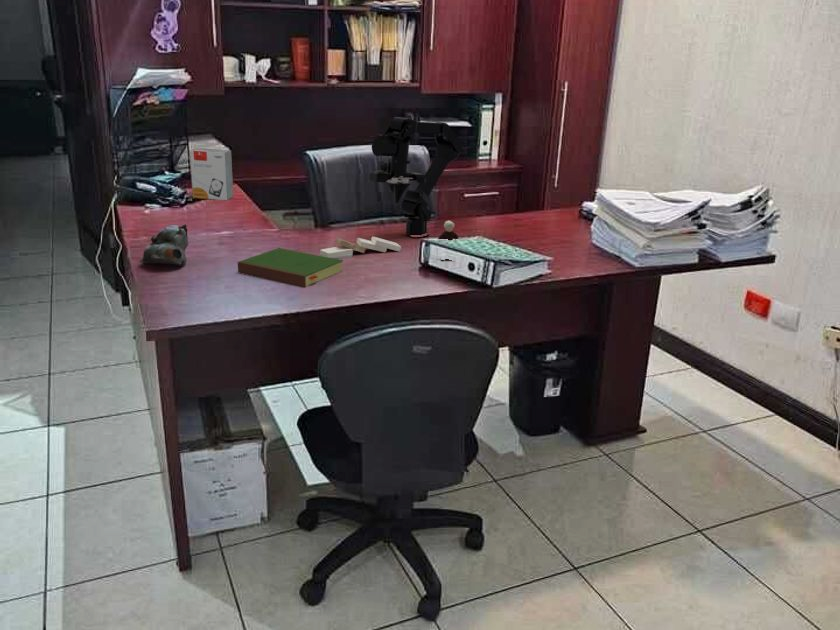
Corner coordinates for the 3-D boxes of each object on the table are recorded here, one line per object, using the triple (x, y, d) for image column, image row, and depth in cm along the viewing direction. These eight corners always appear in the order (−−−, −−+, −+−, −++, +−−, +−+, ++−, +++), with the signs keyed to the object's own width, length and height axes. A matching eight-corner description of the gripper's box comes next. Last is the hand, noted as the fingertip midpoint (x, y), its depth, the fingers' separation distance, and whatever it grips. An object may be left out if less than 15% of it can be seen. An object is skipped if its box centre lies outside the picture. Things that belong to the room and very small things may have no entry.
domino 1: (344, 245, 238) (320, 249, 233) (352, 249, 234) (328, 253, 229) (344, 250, 238) (320, 254, 233) (352, 254, 235) (328, 258, 230)
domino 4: (382, 243, 244) (357, 237, 241) (387, 248, 240) (361, 241, 236) (381, 248, 245) (356, 242, 241) (385, 252, 240) (360, 246, 237)
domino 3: (360, 246, 241) (335, 237, 237) (365, 248, 237) (340, 239, 232) (358, 250, 241) (334, 242, 237) (364, 253, 237) (339, 244, 233)
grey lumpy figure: (134, 263, 222) (144, 218, 223) (172, 272, 229) (182, 229, 231) (150, 260, 210) (161, 213, 212) (191, 271, 217) (201, 225, 219)
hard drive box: (192, 198, 309) (188, 150, 301) (200, 194, 316) (196, 147, 309) (227, 200, 306) (224, 152, 299) (234, 197, 313) (231, 149, 306)
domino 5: (396, 243, 246) (372, 236, 242) (401, 247, 241) (376, 240, 237) (395, 247, 246) (370, 240, 242) (400, 251, 242) (375, 244, 238)
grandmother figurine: (440, 262, 231) (441, 223, 227) (434, 259, 234) (435, 220, 230) (461, 259, 235) (463, 220, 230) (455, 256, 238) (457, 218, 233)
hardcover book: (238, 274, 216) (237, 262, 215) (279, 259, 232) (278, 247, 230) (306, 289, 205) (306, 276, 204) (345, 272, 220) (345, 260, 219)
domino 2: (345, 250, 238) (319, 253, 234) (352, 254, 234) (326, 257, 230) (345, 255, 239) (319, 258, 234) (352, 259, 235) (326, 262, 230)
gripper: (411, 154, 257) (407, 199, 261) (363, 152, 247) (360, 198, 252) (428, 158, 248) (423, 204, 252) (379, 156, 238) (375, 204, 243)
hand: (395, 203), depth 250 cm, fingers closed
